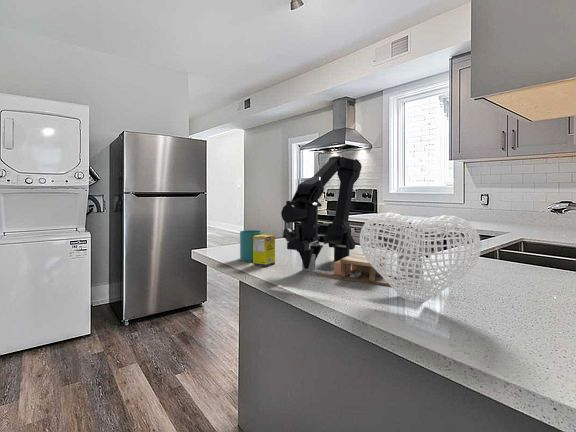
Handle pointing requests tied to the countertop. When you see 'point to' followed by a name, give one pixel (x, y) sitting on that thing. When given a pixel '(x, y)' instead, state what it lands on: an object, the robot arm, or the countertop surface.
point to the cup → (247, 244)
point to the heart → (440, 219)
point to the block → (338, 268)
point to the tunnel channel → (358, 269)
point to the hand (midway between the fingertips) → (308, 267)
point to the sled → (312, 268)
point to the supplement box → (264, 250)
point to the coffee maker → (413, 251)
